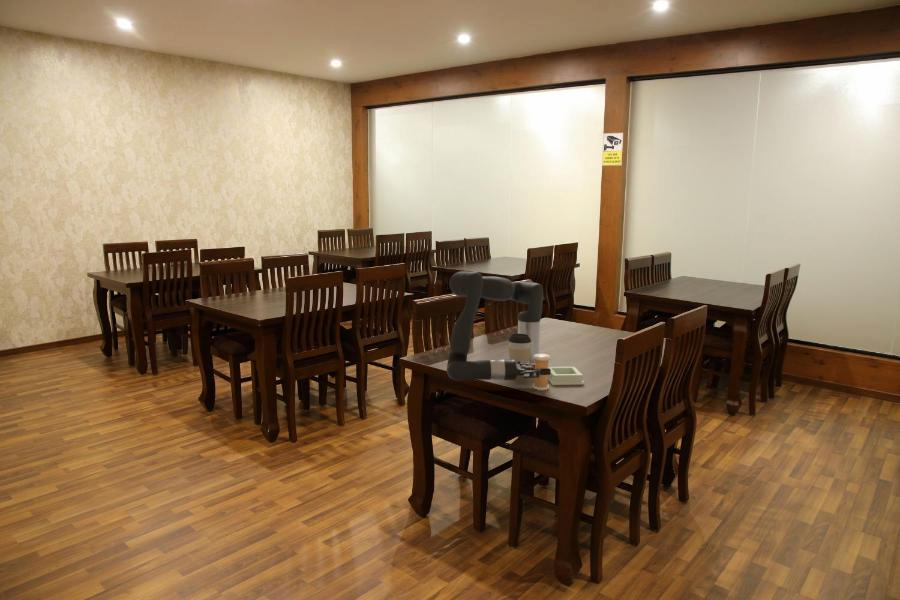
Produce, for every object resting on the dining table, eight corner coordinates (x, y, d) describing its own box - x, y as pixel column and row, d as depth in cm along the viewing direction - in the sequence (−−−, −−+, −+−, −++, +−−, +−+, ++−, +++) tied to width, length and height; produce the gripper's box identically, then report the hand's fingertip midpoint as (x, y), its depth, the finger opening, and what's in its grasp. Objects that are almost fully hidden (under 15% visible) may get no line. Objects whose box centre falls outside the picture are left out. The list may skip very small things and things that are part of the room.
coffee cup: (528, 367, 243) (529, 331, 240) (532, 374, 234) (533, 337, 231) (506, 367, 243) (507, 331, 240) (509, 374, 234) (510, 337, 231)
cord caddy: (544, 375, 233) (544, 366, 233) (574, 374, 234) (575, 366, 234) (552, 384, 221) (552, 375, 221) (583, 384, 222) (584, 375, 222)
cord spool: (530, 385, 221) (531, 353, 219) (546, 385, 221) (548, 353, 219) (534, 390, 215) (535, 358, 213) (550, 390, 215) (552, 358, 213)
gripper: (505, 365, 208) (553, 364, 209) (499, 354, 222) (544, 353, 223) (505, 386, 209) (552, 385, 211) (498, 373, 223) (543, 373, 225)
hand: (548, 369), depth 217 cm, fingers open, 5 cm apart
